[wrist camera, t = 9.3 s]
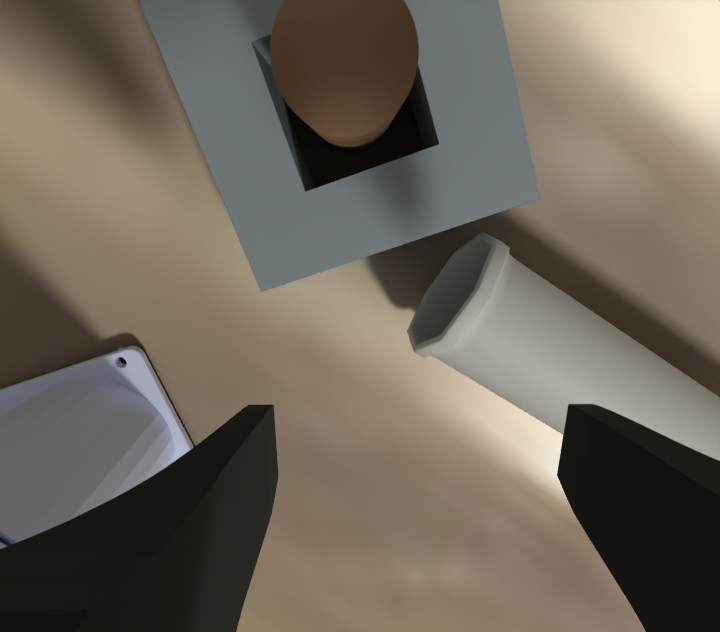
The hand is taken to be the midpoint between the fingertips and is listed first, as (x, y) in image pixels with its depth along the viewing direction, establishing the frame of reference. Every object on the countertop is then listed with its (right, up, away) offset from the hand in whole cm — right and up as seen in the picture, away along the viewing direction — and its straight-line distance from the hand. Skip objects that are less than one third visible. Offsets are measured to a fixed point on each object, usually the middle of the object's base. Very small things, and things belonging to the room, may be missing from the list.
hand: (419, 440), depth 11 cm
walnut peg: (-2, +11, +6) cm, 13 cm away
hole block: (-2, +11, +6) cm, 13 cm away
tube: (+12, -1, +11) cm, 17 cm away
